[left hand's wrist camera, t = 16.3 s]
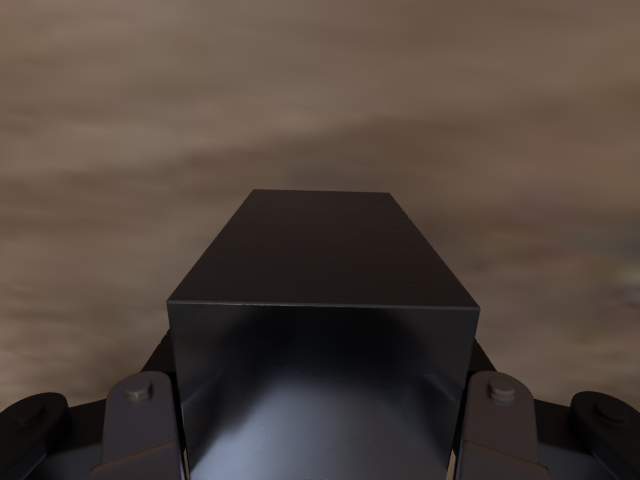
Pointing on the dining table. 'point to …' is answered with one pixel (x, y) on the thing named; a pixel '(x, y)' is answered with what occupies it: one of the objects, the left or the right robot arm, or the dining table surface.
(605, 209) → the dining table surface
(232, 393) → the box
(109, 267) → the dining table surface
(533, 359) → the dining table surface
